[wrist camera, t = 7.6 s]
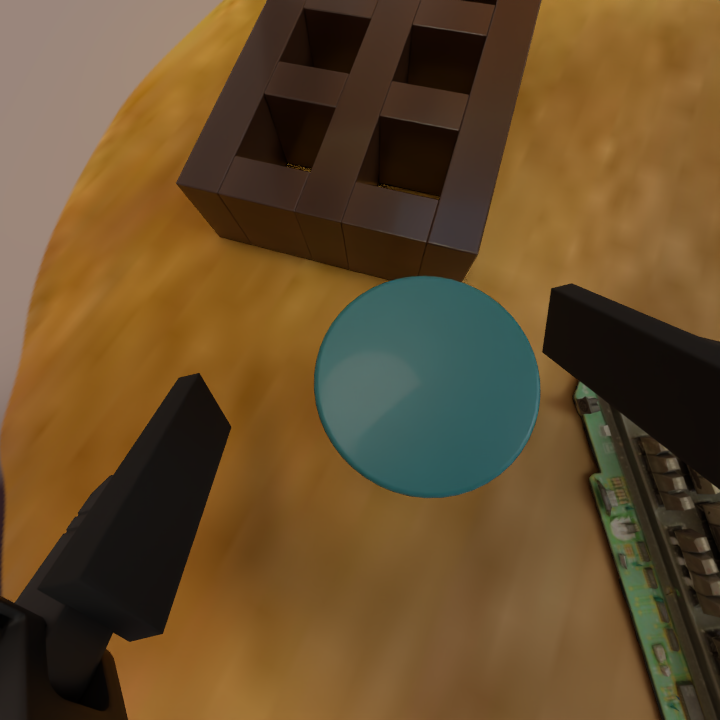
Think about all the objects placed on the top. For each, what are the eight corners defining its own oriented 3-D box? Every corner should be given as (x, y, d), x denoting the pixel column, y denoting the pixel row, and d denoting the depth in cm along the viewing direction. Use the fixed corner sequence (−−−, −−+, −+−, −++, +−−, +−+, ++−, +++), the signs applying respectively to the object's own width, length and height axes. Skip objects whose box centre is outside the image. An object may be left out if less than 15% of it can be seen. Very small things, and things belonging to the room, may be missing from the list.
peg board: (523, 28, 23) (558, -68, 18) (453, 296, 18) (478, 254, 14) (325, -2, 24) (314, -96, 20) (219, 236, 20) (175, 183, 16)
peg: (424, 396, 17) (561, 303, 4) (409, 453, 16) (518, 534, 4) (369, 380, 17) (351, 252, 5) (352, 435, 17) (281, 455, 4)
